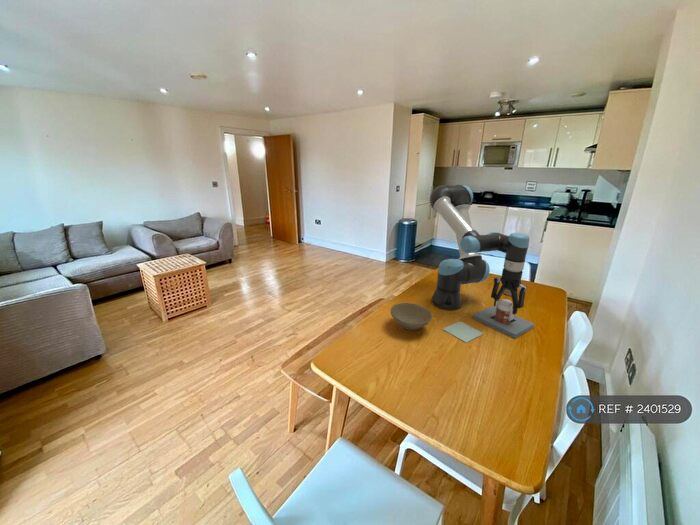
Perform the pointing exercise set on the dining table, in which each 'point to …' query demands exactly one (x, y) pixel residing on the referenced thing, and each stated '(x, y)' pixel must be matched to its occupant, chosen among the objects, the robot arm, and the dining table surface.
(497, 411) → the dining table surface
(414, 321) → the bowl
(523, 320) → the socket block
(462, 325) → the mat
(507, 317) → the pill bottle
